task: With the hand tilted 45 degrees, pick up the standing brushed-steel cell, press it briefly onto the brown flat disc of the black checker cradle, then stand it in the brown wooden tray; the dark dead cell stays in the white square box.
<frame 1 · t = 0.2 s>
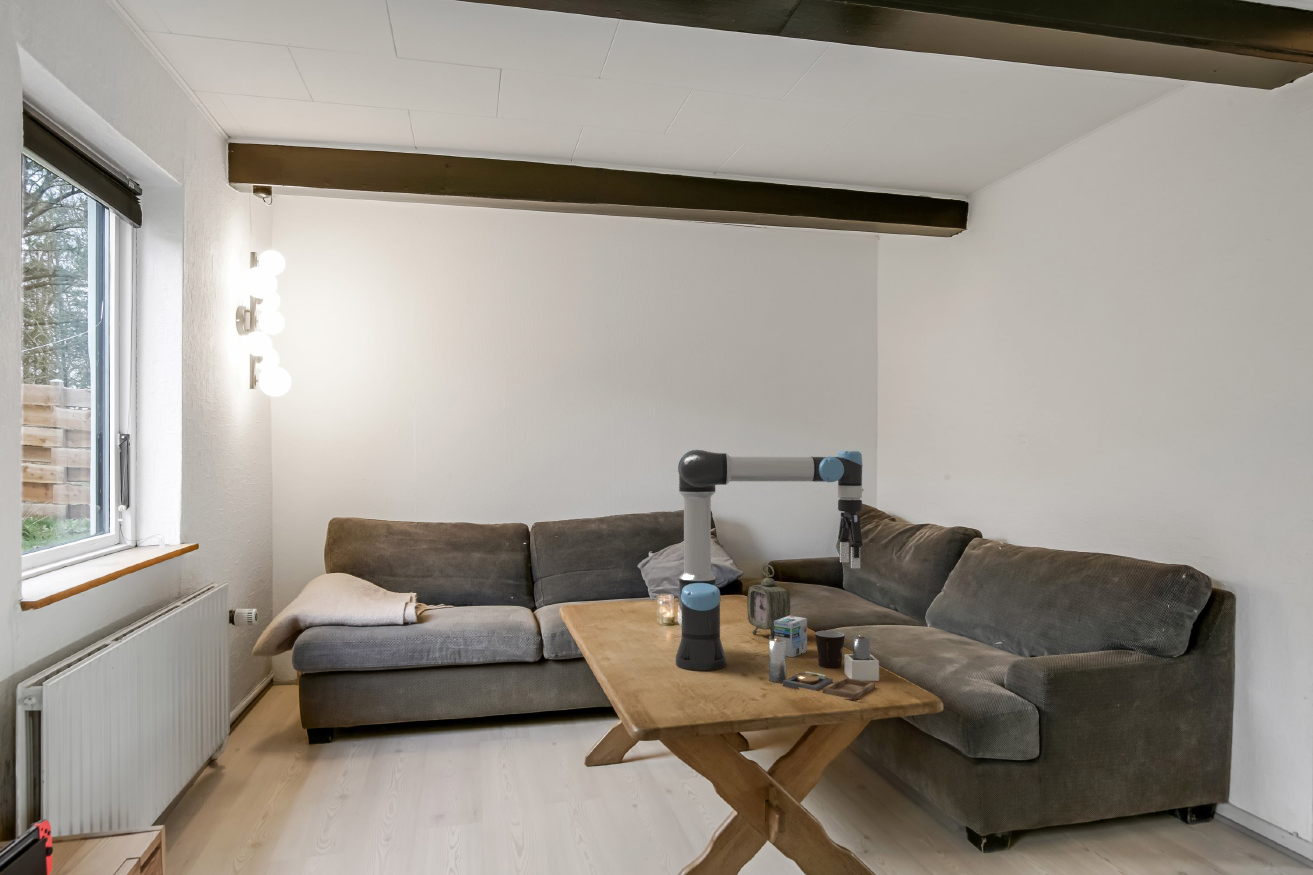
hand: (849, 565, 255), 28 cm above the table, tool pointing down, fingers open, 13 cm apart
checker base: (807, 684, 218), on the table
brown wooden tray: (849, 692, 212), on the table
light bulb box: (790, 653, 254), on the table
tabletop clock: (769, 637, 276), on the table
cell: (777, 680, 223), on the table
dead cell: (861, 676, 224), point 1 cm above the table, touching white square box
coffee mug: (827, 669, 235), on the table
brown flat disc: (807, 678, 218), point 2 cm above the table, slide at 0.0 cm
white square box: (861, 678, 224), on the table
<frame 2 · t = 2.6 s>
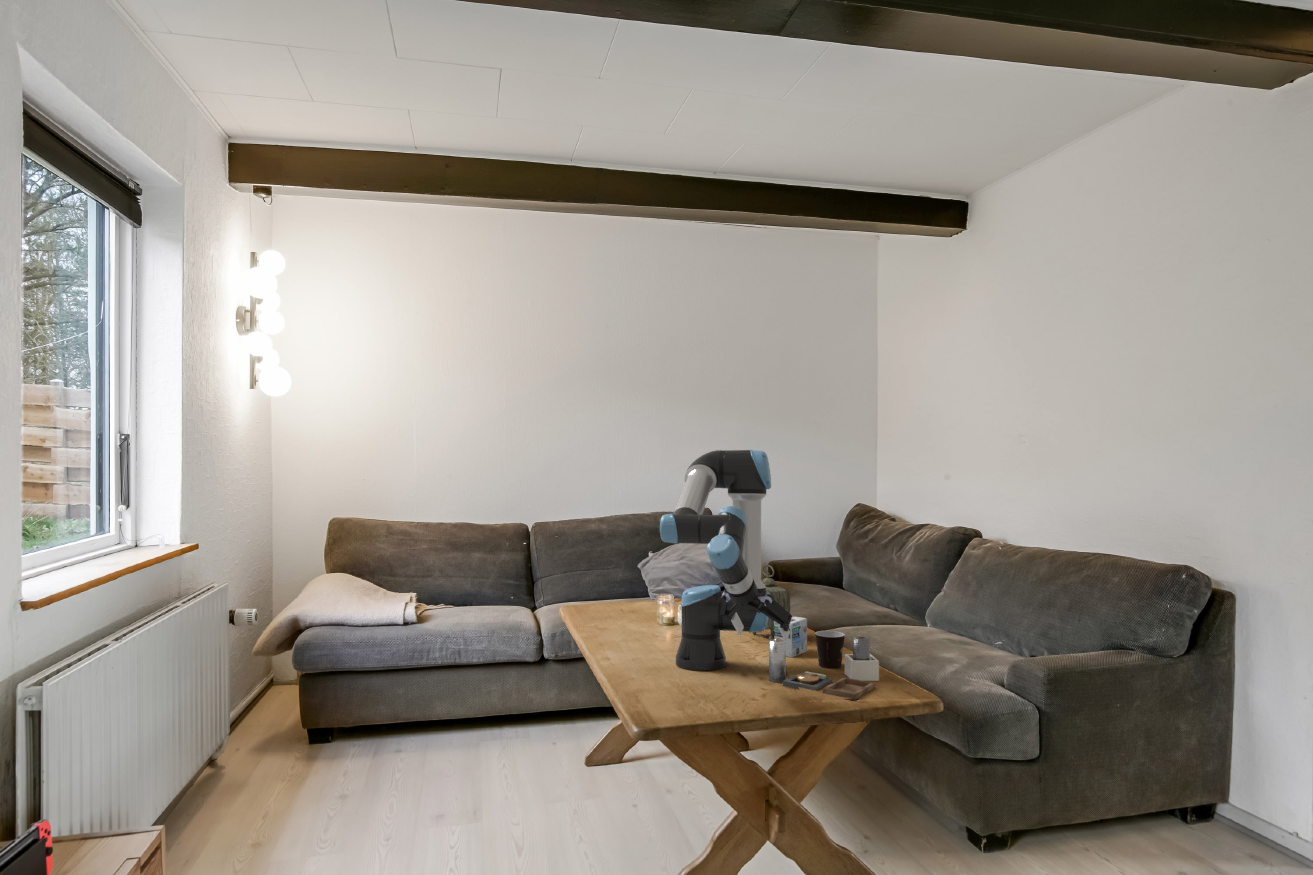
hand: (763, 633, 215), 15 cm above the table, tool tilted 45°, fingers open, 13 cm apart
nothing on the table moved.
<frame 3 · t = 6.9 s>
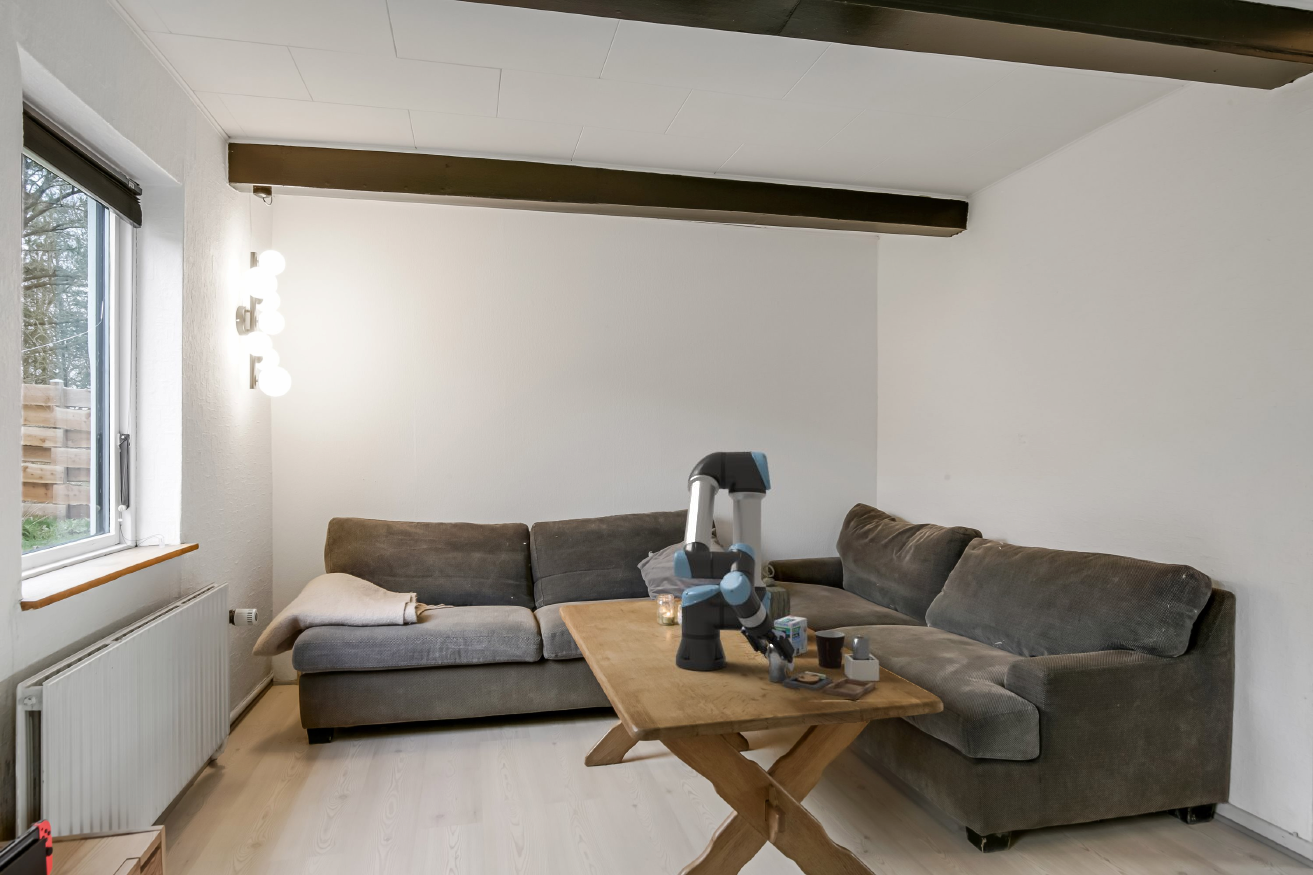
hand: (783, 665, 226), 3 cm above the table, tool tilted 45°, fingers closed on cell, 4 cm apart
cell: (777, 680, 223), on the table, touching gripper
everything else where it was.
when the fingers open (5 cm above the table, at t = 15.4 s): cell drops 1 cm, resting on brown wooden tray.
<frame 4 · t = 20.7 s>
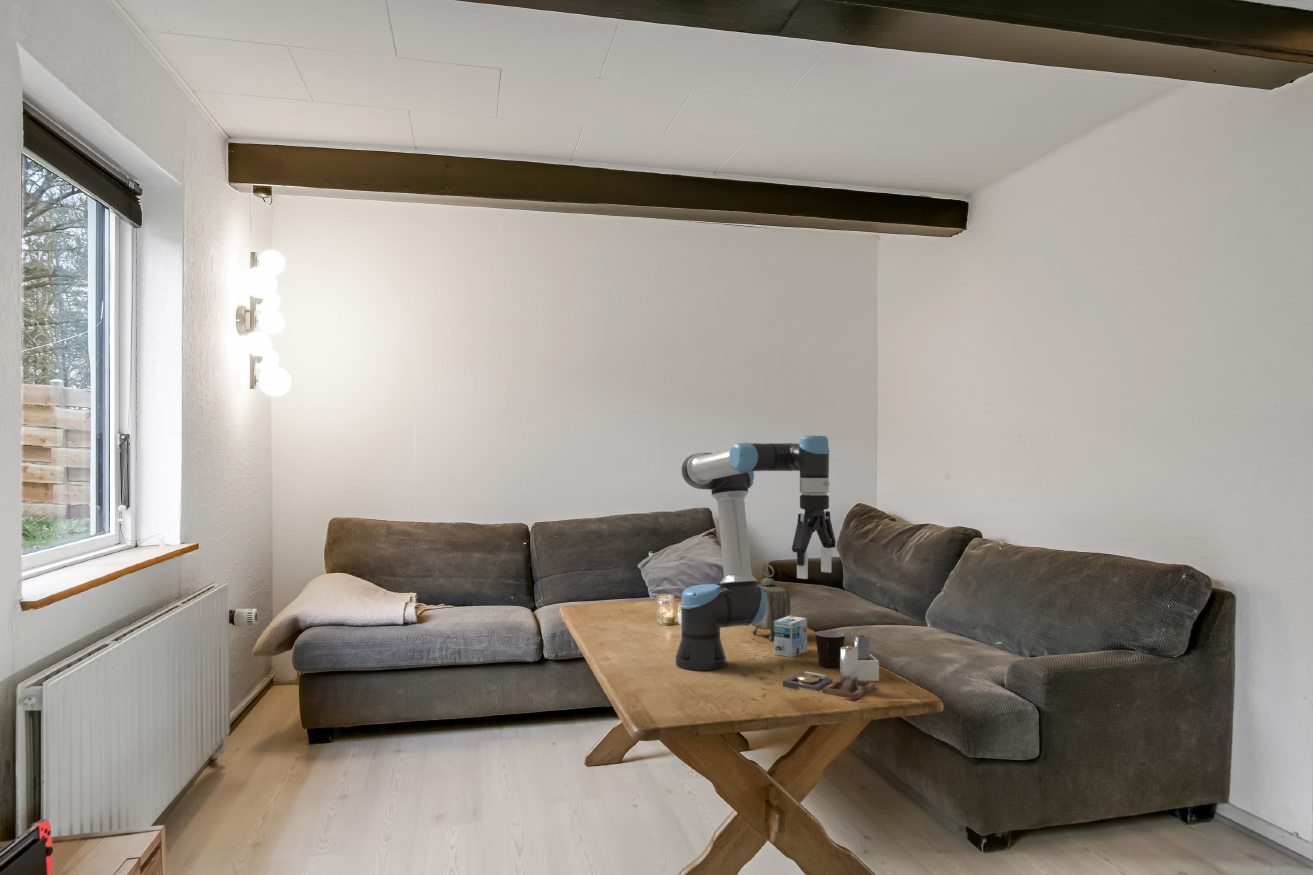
hand: (814, 575, 209), 32 cm above the table, tool pointing down, fingers open, 13 cm apart
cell: (848, 690, 212), point 1 cm above the table, touching brown wooden tray
at the end: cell inside the target area on the brown wooden tray (0.1 cm from its centre), point 0.6 cm above the brown wooden tray's base; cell tilted 1°; the gripper is holding nothing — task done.
